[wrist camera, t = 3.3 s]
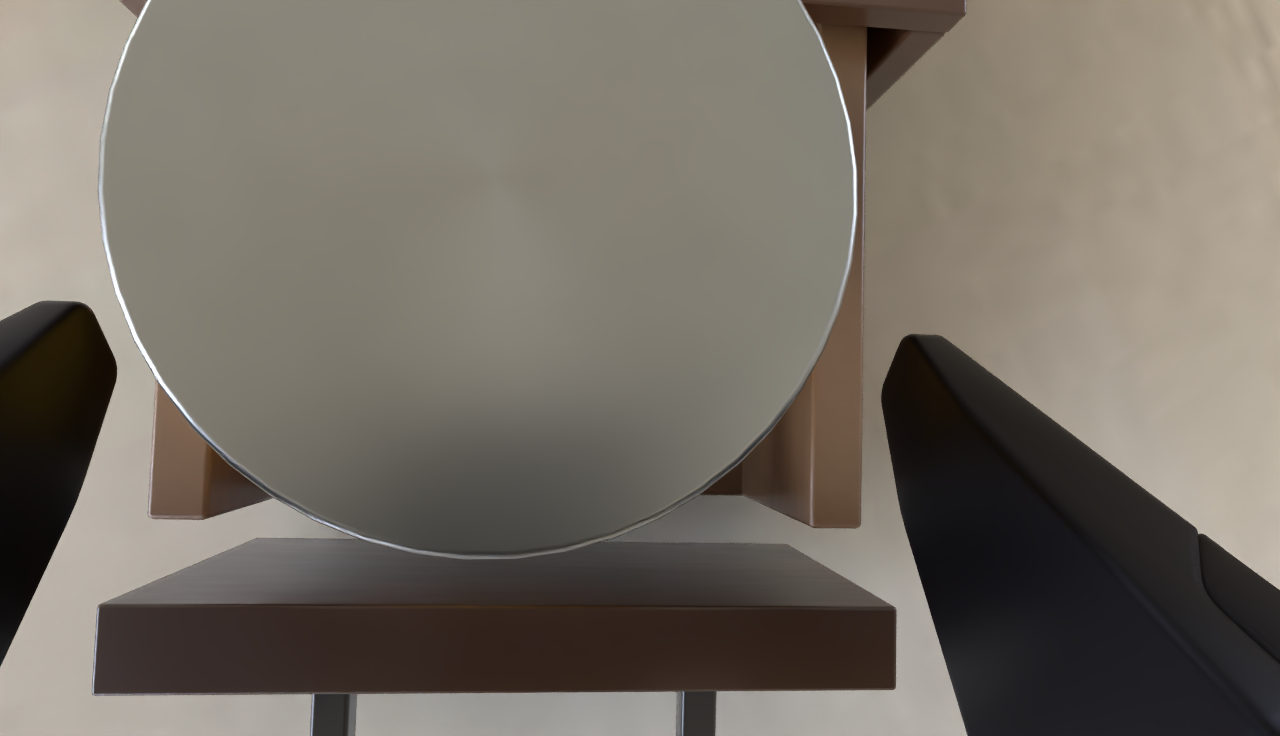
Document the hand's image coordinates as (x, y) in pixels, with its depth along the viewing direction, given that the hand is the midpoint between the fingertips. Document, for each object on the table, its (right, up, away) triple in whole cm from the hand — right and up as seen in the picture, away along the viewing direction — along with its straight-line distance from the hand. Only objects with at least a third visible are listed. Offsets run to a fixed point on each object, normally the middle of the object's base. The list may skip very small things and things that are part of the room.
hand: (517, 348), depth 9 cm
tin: (-1, +1, +7) cm, 7 cm away
